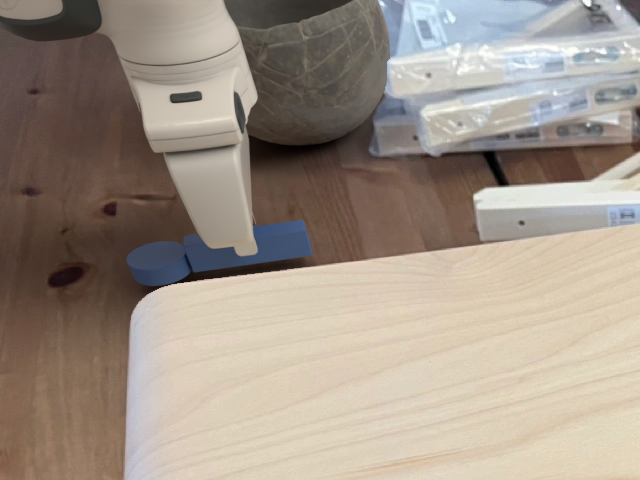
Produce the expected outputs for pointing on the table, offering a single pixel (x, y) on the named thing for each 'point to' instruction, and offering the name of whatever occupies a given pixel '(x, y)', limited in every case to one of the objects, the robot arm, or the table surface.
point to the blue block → (215, 253)
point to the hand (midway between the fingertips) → (247, 242)
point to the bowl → (312, 66)
